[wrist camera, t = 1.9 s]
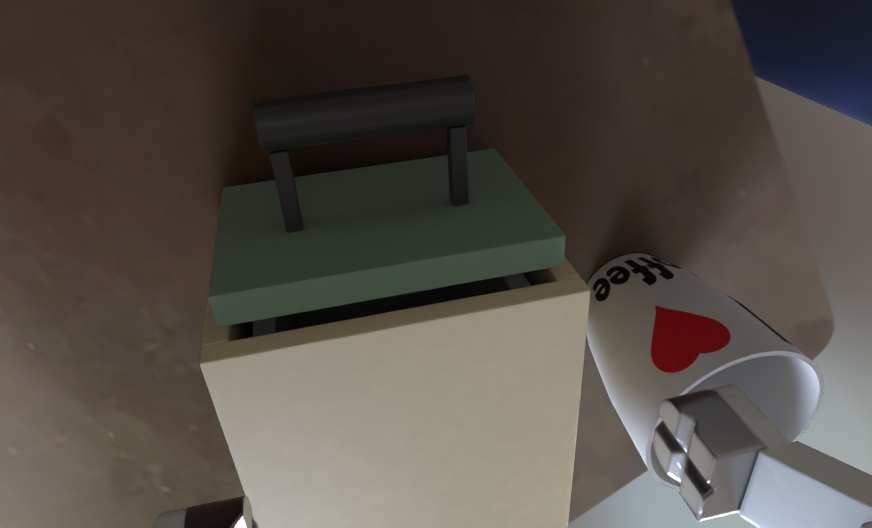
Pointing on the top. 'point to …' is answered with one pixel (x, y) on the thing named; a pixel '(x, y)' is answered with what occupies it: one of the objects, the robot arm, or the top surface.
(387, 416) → the drawer box
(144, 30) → the top surface
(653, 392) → the cup
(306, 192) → the green drawer
